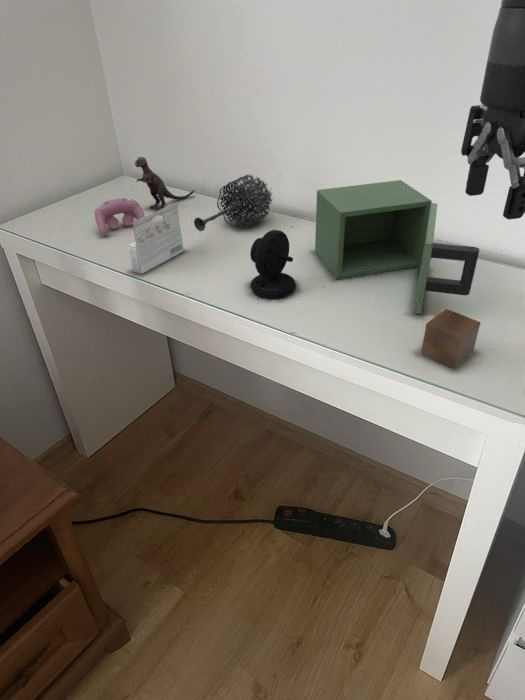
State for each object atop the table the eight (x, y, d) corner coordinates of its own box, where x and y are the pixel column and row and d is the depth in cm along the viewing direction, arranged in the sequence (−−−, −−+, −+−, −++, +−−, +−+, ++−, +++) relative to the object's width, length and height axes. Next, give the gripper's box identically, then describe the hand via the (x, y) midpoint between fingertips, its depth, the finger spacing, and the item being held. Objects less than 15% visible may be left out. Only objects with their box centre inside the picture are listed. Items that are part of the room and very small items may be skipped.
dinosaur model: (130, 156, 110) (184, 145, 120) (135, 211, 117) (186, 196, 126) (142, 161, 108) (196, 149, 118) (147, 216, 115) (197, 200, 124)
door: (464, 271, 90) (478, 206, 83) (464, 320, 78) (481, 248, 71) (420, 267, 92) (431, 202, 85) (414, 313, 80) (425, 243, 73)
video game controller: (145, 229, 113) (136, 196, 112) (149, 226, 109) (140, 192, 108) (99, 238, 110) (89, 204, 108) (101, 236, 106) (91, 201, 104)
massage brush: (183, 242, 104) (177, 195, 98) (251, 207, 118) (249, 164, 112) (220, 253, 99) (216, 205, 93) (286, 215, 113) (286, 171, 108)
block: (473, 352, 72) (480, 321, 69) (454, 369, 69) (461, 337, 66) (439, 338, 74) (446, 308, 72) (420, 354, 72) (426, 323, 69)
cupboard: (421, 266, 92) (432, 200, 85) (336, 279, 89) (340, 212, 82) (393, 241, 101) (400, 179, 94) (314, 252, 98) (316, 189, 91)
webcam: (268, 273, 92) (266, 218, 86) (304, 284, 88) (305, 228, 82) (241, 292, 87) (237, 235, 81) (278, 304, 83) (278, 246, 77)
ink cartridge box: (132, 271, 94) (122, 219, 88) (175, 249, 101) (168, 199, 95) (142, 275, 93) (132, 222, 87) (184, 252, 100) (178, 201, 94)
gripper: (605, 63, 51) (556, 223, 60) (517, 48, 62) (487, 184, 72) (535, 68, 50) (496, 230, 59) (459, 51, 61) (436, 190, 71)
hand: (491, 205), depth 65 cm, fingers open, 8 cm apart
